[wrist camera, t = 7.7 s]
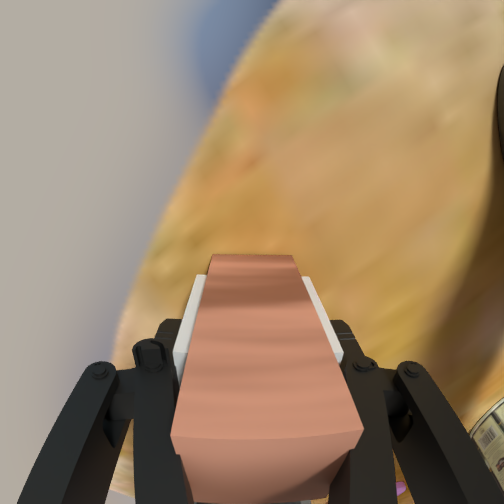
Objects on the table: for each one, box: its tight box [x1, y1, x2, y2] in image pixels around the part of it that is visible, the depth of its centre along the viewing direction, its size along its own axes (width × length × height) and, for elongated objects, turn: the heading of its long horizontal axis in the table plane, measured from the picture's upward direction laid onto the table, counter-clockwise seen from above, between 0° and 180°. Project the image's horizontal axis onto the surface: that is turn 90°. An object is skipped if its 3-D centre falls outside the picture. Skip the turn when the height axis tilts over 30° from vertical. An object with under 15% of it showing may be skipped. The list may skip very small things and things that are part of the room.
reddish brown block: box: [170, 254, 364, 504], centre depth 14 cm, size 19×5×12 cm, turn 178°
